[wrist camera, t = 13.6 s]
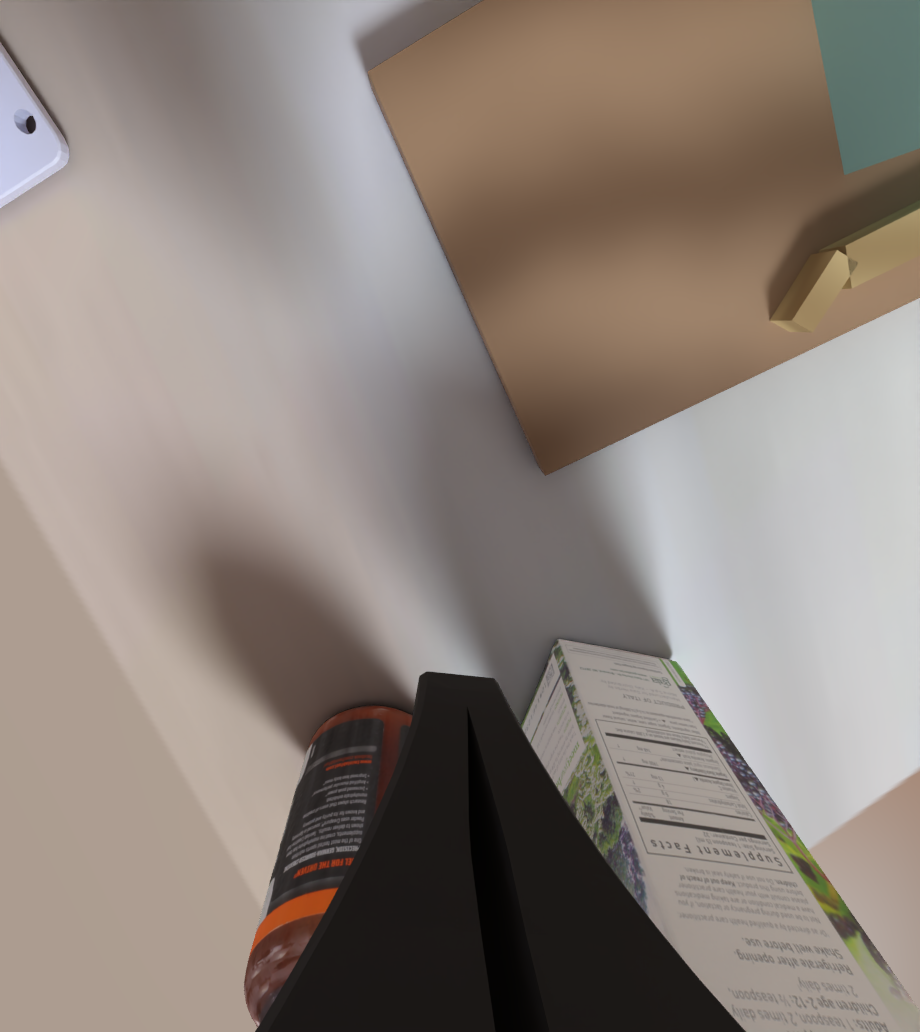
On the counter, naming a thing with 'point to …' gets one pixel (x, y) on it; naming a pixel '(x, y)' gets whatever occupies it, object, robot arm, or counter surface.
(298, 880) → the supplement bottle
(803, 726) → the counter surface
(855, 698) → the counter surface
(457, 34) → the slide board
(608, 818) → the syrup box
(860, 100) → the teal block
